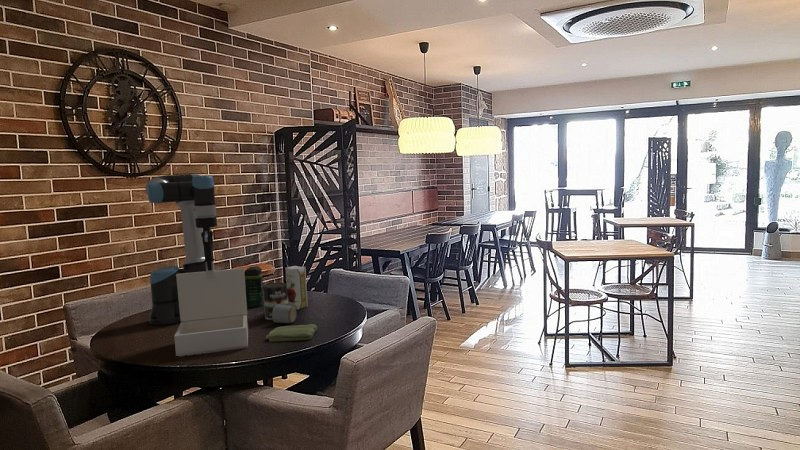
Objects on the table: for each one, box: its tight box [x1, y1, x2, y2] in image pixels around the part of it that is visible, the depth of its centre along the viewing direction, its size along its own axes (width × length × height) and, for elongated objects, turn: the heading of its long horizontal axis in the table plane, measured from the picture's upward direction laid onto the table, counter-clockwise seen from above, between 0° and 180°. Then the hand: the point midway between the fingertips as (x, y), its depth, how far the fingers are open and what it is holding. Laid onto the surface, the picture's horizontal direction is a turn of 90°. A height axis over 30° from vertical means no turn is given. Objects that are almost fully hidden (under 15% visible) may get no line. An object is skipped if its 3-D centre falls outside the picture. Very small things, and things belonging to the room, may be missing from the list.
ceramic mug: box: [272, 304, 297, 324], centre depth 217 cm, size 11×8×8 cm
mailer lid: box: [176, 267, 248, 322], centre depth 202 cm, size 18×24×9 cm
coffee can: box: [263, 282, 288, 321], centre depth 225 cm, size 10×10×14 cm
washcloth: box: [265, 323, 318, 343], centre depth 198 cm, size 13×18×3 cm
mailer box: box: [173, 314, 249, 357], centre depth 191 cm, size 18×24×8 cm
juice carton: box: [285, 265, 309, 311], centre depth 239 cm, size 8×9×19 cm
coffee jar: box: [244, 265, 264, 308], centre depth 246 cm, size 10×8×19 cm
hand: (210, 278), depth 196 cm, fingers closed
